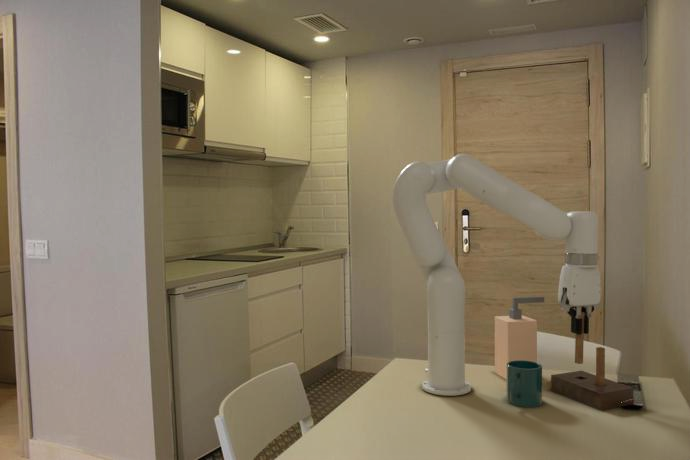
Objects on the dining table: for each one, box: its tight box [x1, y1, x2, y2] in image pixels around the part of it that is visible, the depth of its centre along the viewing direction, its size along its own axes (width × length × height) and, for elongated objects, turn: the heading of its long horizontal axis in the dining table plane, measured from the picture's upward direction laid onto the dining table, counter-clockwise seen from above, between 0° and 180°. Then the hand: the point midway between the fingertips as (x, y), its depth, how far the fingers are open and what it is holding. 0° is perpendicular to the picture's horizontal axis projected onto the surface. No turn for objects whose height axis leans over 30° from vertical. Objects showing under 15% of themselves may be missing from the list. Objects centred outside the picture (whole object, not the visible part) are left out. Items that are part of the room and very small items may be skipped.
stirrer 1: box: [574, 312, 585, 365], centre depth 146 cm, size 1×1×13 cm
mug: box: [506, 360, 543, 408], centre depth 139 cm, size 12×8×9 cm
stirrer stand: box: [550, 370, 634, 411], centre depth 143 cm, size 16×10×4 cm, turn 22°
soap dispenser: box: [494, 296, 545, 381], centre depth 162 cm, size 13×9×22 cm
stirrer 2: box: [595, 346, 606, 387], centre depth 140 cm, size 1×1×13 cm
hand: (579, 332), depth 146 cm, fingers closed on stirrer 1, 1 cm apart
